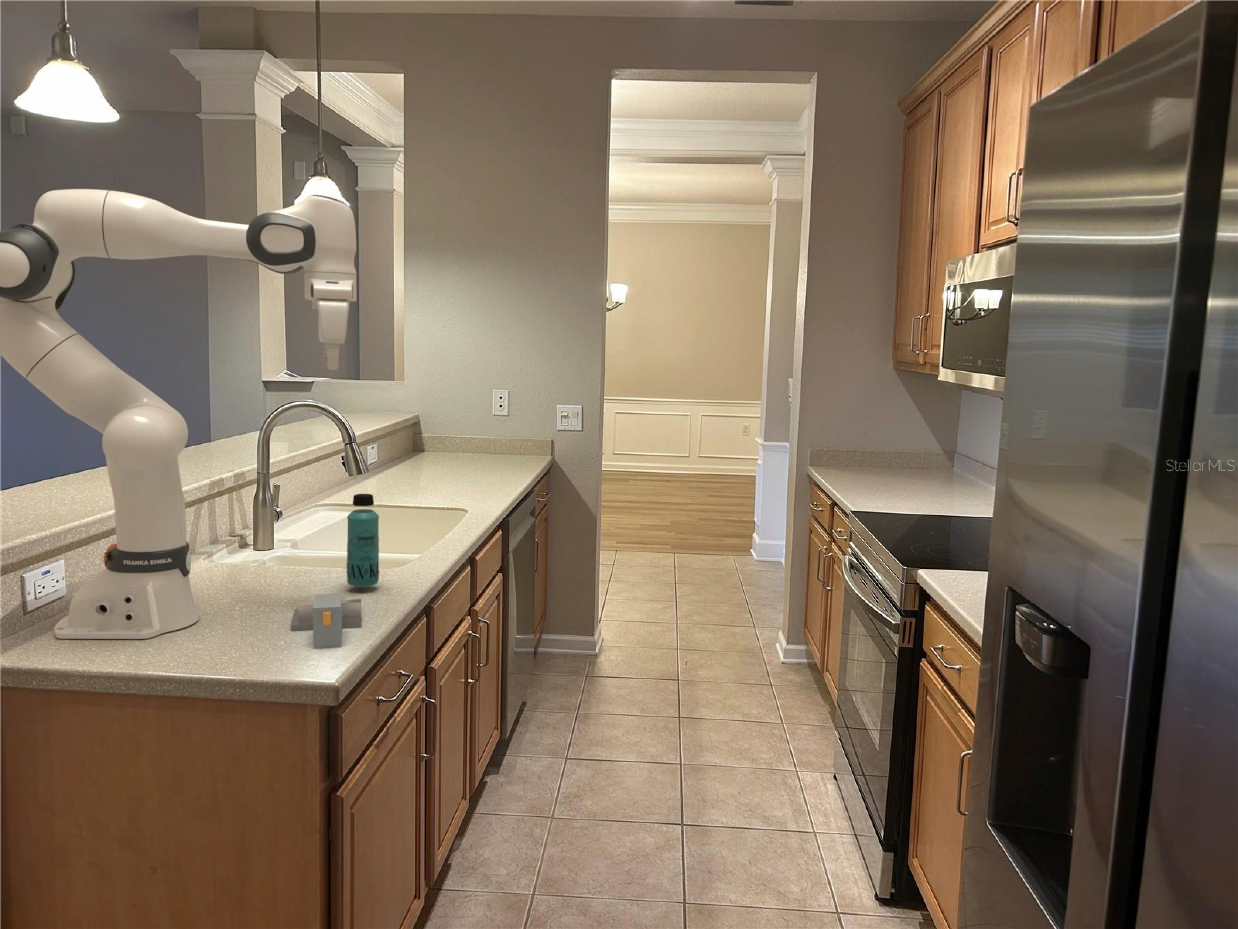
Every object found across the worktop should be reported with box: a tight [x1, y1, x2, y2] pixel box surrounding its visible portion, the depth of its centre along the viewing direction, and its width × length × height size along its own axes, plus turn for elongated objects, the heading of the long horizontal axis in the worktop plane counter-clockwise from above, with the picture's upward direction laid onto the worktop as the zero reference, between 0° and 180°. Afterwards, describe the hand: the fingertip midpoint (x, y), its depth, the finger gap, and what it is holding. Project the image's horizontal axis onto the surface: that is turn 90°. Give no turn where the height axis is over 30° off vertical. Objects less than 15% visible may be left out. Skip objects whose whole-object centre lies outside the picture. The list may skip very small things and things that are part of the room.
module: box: [312, 593, 343, 650], centre depth 157 cm, size 4×9×7 cm, turn 16°
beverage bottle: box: [346, 493, 380, 588], centre depth 187 cm, size 6×7×20 cm
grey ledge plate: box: [290, 598, 362, 632], centre depth 167 cm, size 12×10×4 cm
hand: (331, 368), depth 165 cm, fingers open, 8 cm apart
